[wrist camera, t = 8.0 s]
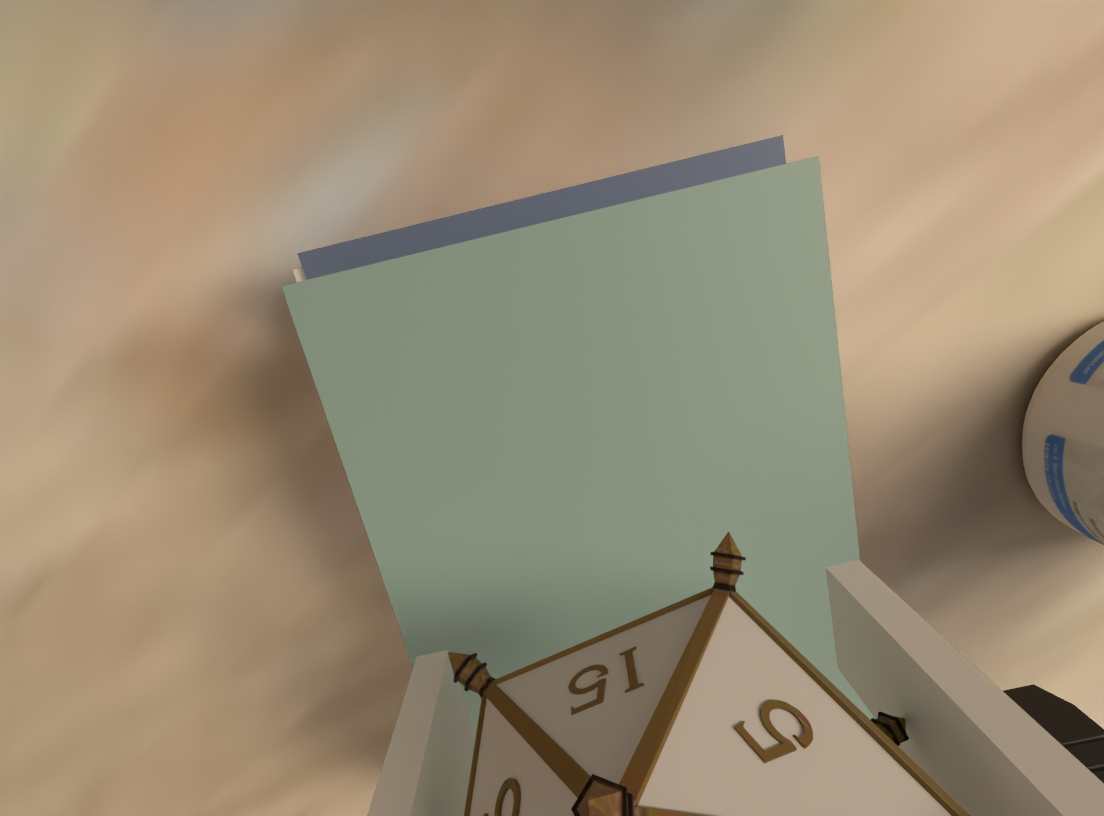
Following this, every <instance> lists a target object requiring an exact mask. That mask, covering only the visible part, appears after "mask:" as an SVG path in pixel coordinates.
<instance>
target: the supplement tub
mask: <svg viewBox="0 0 1104 816" xmlns="http://www.w3.org/2000/svg"><path fill="white" fill-rule="evenodd" d="M1022 455H1023V465H1024V469H1025V473H1026V476H1027V479H1028V482H1029V484H1030V486H1031V488H1032V490H1033V492H1034V494H1035V495H1036V497H1037V498H1038V500H1039V501H1040V503H1041V504H1042V505H1043V506H1044V507H1045V508H1046V509H1047V511H1048V512H1050V513H1051V514H1052V515H1053V516H1054V517H1055V518H1057V519H1058V520H1059V521H1060V522H1062V523H1063V524H1065V525H1066V526H1068V527H1069V528H1071V529H1073V530H1075V531H1077V532H1079V533H1081V534H1083V535H1085V536H1087V537H1089V538H1091V539H1093V540H1095V541H1097V542H1099V543H1101V544H1103V545H1104V321H1103V322H1101V323H1100V324H1098V325H1096V326H1094V327H1093V328H1091V329H1090V330H1088V331H1087V332H1086V333H1084V334H1083V335H1082V336H1080V337H1079V338H1078V339H1076V340H1075V341H1074V342H1073V343H1072V344H1071V345H1070V346H1069V347H1067V348H1066V349H1065V350H1064V351H1063V352H1062V353H1061V354H1060V355H1059V356H1058V358H1057V359H1056V360H1055V361H1054V362H1053V364H1052V365H1051V366H1050V367H1049V368H1048V370H1047V371H1046V373H1045V374H1044V376H1043V377H1042V379H1041V380H1040V382H1039V384H1038V386H1037V387H1036V389H1035V391H1034V393H1033V396H1032V398H1031V400H1030V403H1029V405H1028V408H1027V411H1026V415H1025V420H1024V424H1023V432H1022Z"/></svg>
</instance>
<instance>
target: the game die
mask: <svg viewBox="0 0 1104 816" xmlns="http://www.w3.org/2000/svg"><path fill="white" fill-rule="evenodd" d="M711 555H713V567H712V566H710V570H713V575H714V580H715V583H714V585H713V587H712V588H710V589H707V590H705V591H702V592H700V593H698V594H695V595H693V596H691V597H688V598H686V599H684V600H681V601H679V602H677V603H674V604H672V605H670V606H667V607H665V608H662V609H660V610H658V611H655V612H653V613H651V614H648V615H646V616H644V617H641V618H639V619H637V620H634V621H632V622H629V623H627V624H625V625H622V626H620V627H618V628H615V629H613V630H611V631H608V632H606V633H604V634H601V635H599V636H597V637H594V638H592V639H589V640H587V641H585V642H582V643H580V644H578V645H575V646H573V647H571V648H568V649H566V650H564V651H561V652H559V653H556V654H554V655H552V656H549V657H547V658H545V659H542V660H540V661H538V662H535V663H533V664H531V665H528V666H526V667H523V668H521V669H519V670H516V671H514V672H512V673H509V674H507V675H505V676H502V677H500V678H498V679H495V678H493V677H491V675H490V674H489V672H488V670H487V669H486V666H487V664H486V663H485V662H484V663H481V662H480V661H479V660H478V659H477V658H476V657H477V654H476V653H474V654H472V655H468V654H460V653H452V652H448V656H449V659H450V662H451V666H452V669H453V673H454V681H453V682H455V683H457V682H460V683H461V684H462V685H463V686H465V688H464V690H465V691H466V692H467V691H468V690H471V691H473V692H476V693H478V694H479V695H480V697H481V705H480V712H479V718H478V725H477V732H476V738H475V745H474V752H473V758H472V765H471V772H470V778H469V785H468V792H467V798H466V805H465V812H464V816H970V815H969V814H968V813H967V812H966V811H965V810H964V809H963V808H962V807H961V806H960V805H959V804H958V803H957V802H956V801H955V800H954V799H953V798H951V797H950V796H949V795H948V794H947V793H946V792H945V791H944V790H943V789H942V788H941V787H940V786H939V785H938V784H937V783H936V782H935V781H934V780H933V779H932V778H931V777H930V776H928V775H927V774H926V773H925V772H924V771H923V770H922V769H921V768H920V767H919V766H918V765H917V764H916V763H915V762H914V761H913V760H912V759H911V758H910V757H909V756H908V755H907V754H906V753H904V752H903V751H902V750H901V749H900V748H899V747H898V746H899V745H901V744H900V743H902V742H904V741H907V740H909V737H908V735H907V734H906V724H905V719H904V718H902V717H896V716H891V715H888V714H886V713H883V712H880V711H879V712H878V718H877V719H874V718H872V719H871V720H870V719H869V718H868V717H867V716H866V715H865V714H864V713H863V712H862V711H861V710H860V709H858V708H857V707H856V706H855V705H854V704H853V703H852V702H851V701H850V700H849V699H848V698H847V697H846V696H845V695H844V694H843V693H842V692H841V691H840V690H839V689H838V688H837V687H835V686H834V685H833V684H832V683H831V682H830V681H829V680H828V679H827V678H826V677H825V676H824V675H823V674H822V673H821V672H820V671H819V670H818V669H817V668H816V667H815V666H814V665H812V664H811V663H810V662H809V661H808V660H807V659H806V658H805V657H804V656H803V655H802V654H801V653H800V652H799V651H798V650H797V649H796V648H795V647H794V646H793V645H792V644H791V643H789V642H788V641H787V640H786V639H785V638H784V637H783V636H782V635H781V634H780V633H779V632H778V631H777V630H776V629H775V628H774V627H773V626H772V625H771V624H770V623H769V622H768V621H767V620H765V619H764V618H763V617H762V616H761V615H760V614H759V613H758V612H757V611H756V610H755V609H754V608H753V607H752V606H751V605H750V604H749V603H748V602H747V601H746V600H745V599H744V598H742V597H741V596H740V595H739V594H738V593H737V592H736V587H735V585H736V583H737V580H738V578H739V576H740V575H743V573H744V572H742V571H741V564H742V560H746V557H742V555H741V553H740V551H739V550H738V548H737V546H736V544H735V542H734V540H733V538H732V536H731V534H730V532H729V531H728V533H727V534H726V535H725V537H724V538H723V540H722V541H721V543H720V544H719V545H718V547H717V548H716V550H715V551H714V552H711Z"/></svg>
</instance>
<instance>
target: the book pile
mask: <svg viewBox="0 0 1104 816" xmlns="http://www.w3.org/2000/svg"><path fill="white" fill-rule="evenodd" d="M298 255H299V258H300V261H301V264H302V267H301V268H297V269H293V273H294V275H295V278H296V281H297V282H296V283H292V284H288V285H284V286H281V287H282V290H283V292H284V295H285V298H286V301H287V305H288V308H289V311H290V314H291V317H292V320H293V323H294V326H295V328H296V331H297V334H298V337H299V340H300V343H301V346H302V349H303V352H304V354H305V357H306V360H307V363H308V366H309V369H310V372H311V375H312V377H313V380H314V383H315V386H316V389H317V392H318V395H319V398H320V401H321V403H322V406H323V409H324V412H325V415H326V418H327V421H328V424H329V427H330V429H331V432H332V435H333V438H334V441H335V444H336V447H337V450H338V452H339V455H340V458H341V461H342V464H343V467H344V470H345V473H346V476H347V478H348V481H349V484H350V487H351V490H352V493H353V496H354V499H355V502H356V504H357V507H358V510H359V513H360V516H361V519H362V522H363V525H364V527H365V530H366V533H367V536H368V539H369V542H370V545H371V548H372V551H373V553H374V556H375V559H376V562H377V565H378V568H379V571H380V574H381V576H382V579H383V582H384V585H385V588H386V591H387V594H388V597H389V600H390V602H391V605H392V608H393V611H394V614H395V617H396V620H397V623H398V626H399V628H400V631H401V634H402V637H403V640H404V643H405V646H406V649H407V651H408V654H409V657H410V660H411V663H412V666H413V667H414V664H415V660H416V657H418V656H422V655H427V654H431V653H436V652H440V651H445V650H449V652H452V653H460V654H468V655H472V654H474V653H476V654H477V657H476V658H477V659H478V660H479V661H480V662H481V663H484V662H485V663H486V664H487V666H486V669H487V670H488V672H489V674H490V675H491V677H493V678H495V679H498V678H500V677H502V676H505V675H507V674H509V673H512V672H514V671H516V670H519V669H521V668H523V667H526V666H528V665H531V664H533V663H535V662H538V661H540V660H542V659H545V658H547V657H549V656H552V655H554V654H556V653H559V652H561V651H564V650H566V649H568V648H571V647H573V646H575V645H578V644H580V643H582V642H585V641H587V640H589V639H592V638H594V637H597V636H599V635H601V634H604V633H606V632H608V631H611V630H613V629H615V628H618V627H620V626H622V625H625V624H627V623H629V622H632V621H634V620H637V619H639V618H641V617H644V616H646V615H648V614H651V613H653V612H655V611H658V610H660V609H662V608H665V607H667V606H670V605H672V604H674V603H677V602H679V601H681V600H684V599H686V598H688V597H691V596H693V595H695V594H698V593H700V592H702V591H705V590H707V589H710V588H712V587H713V585H714V583H715V580H714V575H713V570H710V566H712V567H713V555H711V552H714V551H715V550H716V548H717V547H718V545H719V544H720V543H721V541H722V540H723V538H724V537H725V535H726V534H727V533H728V531H729V532H730V534H731V536H732V538H733V540H734V542H735V544H736V546H737V548H738V550H739V551H740V553H741V555H742V557H746V560H742V564H741V571H742V572H744V573H743V575H740V576H739V578H738V580H737V583H736V585H735V587H736V592H737V593H738V594H739V595H740V596H741V597H742V598H744V599H745V600H746V601H747V602H748V603H749V604H750V605H751V606H752V607H753V608H754V609H755V610H756V611H757V612H758V613H759V614H760V615H761V616H762V617H763V618H764V619H765V620H767V621H768V622H769V623H770V624H771V625H772V626H773V627H774V628H775V629H776V630H777V631H778V632H779V633H780V634H781V635H782V636H783V637H784V638H785V639H786V640H787V641H788V642H789V643H791V644H792V645H793V646H794V647H795V648H796V649H797V650H798V651H799V652H800V653H801V654H802V655H803V656H804V657H805V658H806V659H807V660H808V661H809V662H810V663H811V664H812V665H814V666H815V667H816V668H817V669H818V670H819V671H820V672H821V673H822V674H823V675H824V676H825V677H826V678H827V679H828V680H829V681H830V682H831V683H832V684H833V685H834V686H835V687H837V688H838V689H839V690H840V691H841V692H842V693H843V694H844V695H845V696H846V697H847V698H848V699H849V700H850V701H851V702H852V703H853V704H854V705H855V706H856V707H857V708H858V709H860V710H861V711H862V712H863V713H864V714H865V715H866V716H867V717H868V718H869V719H870V720H871V719H872V718H874V716H873V715H872V714H871V712H870V711H869V709H868V708H867V707H866V705H865V704H864V703H863V701H862V700H861V699H860V697H859V696H858V695H857V693H856V692H855V691H854V689H853V688H852V687H851V685H850V684H849V683H848V681H847V680H846V679H845V677H844V676H843V675H842V673H841V672H840V671H839V669H838V666H837V657H836V649H835V641H834V633H833V625H832V617H831V609H830V600H829V592H828V584H827V576H826V568H825V567H829V566H833V565H838V564H843V563H847V562H852V561H856V560H860V553H859V543H858V534H857V524H856V514H855V504H854V495H853V485H852V475H851V466H850V456H849V446H848V436H847V427H846V417H845V407H844V398H843V388H842V378H841V368H840V359H839V349H838V339H837V329H836V320H835V310H834V300H833V291H832V281H831V271H830V261H829V252H828V242H827V232H826V223H825V213H824V203H823V193H822V184H821V174H820V164H819V156H816V157H812V158H808V159H804V160H800V161H796V162H792V163H787V164H786V159H785V150H784V142H783V135H782V136H778V137H774V138H769V139H765V140H761V141H757V142H753V143H749V144H745V145H741V146H737V147H733V148H728V149H724V150H720V151H716V152H712V153H708V154H704V155H700V156H696V157H692V158H687V159H683V160H679V161H675V162H671V163H667V164H663V165H659V166H655V167H651V168H646V169H642V170H638V171H634V172H630V173H626V174H622V175H618V176H614V177H610V178H605V179H601V180H597V181H593V182H589V183H585V184H581V185H577V186H573V187H569V188H564V189H560V190H556V191H552V192H548V193H544V194H540V195H536V196H532V197H528V198H523V199H519V200H515V201H511V202H507V203H503V204H499V205H495V206H491V207H487V208H482V209H478V210H474V211H470V212H466V213H462V214H458V215H454V216H450V217H446V218H441V219H437V220H433V221H429V222H425V223H421V224H417V225H413V226H409V227H405V228H400V229H396V230H392V231H388V232H384V233H380V234H376V235H372V236H368V237H364V238H359V239H355V240H351V241H347V242H343V243H339V244H335V245H331V246H327V247H323V248H318V249H314V250H310V251H306V252H302V253H298ZM459 683H460V682H459ZM460 686H461V690H462V693H463V696H464V699H465V702H466V705H467V708H468V711H469V714H470V717H471V721H472V724H473V727H474V730H475V733H476V732H477V725H478V718H479V712H480V705H481V697H480V695H479V694H478V693H476V692H473V691H471V690H468V691H467V692H466V691H465V690H464V688H465V686H463V685H462V684H461V683H460ZM874 719H875V718H874Z"/></svg>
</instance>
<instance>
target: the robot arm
mask: <svg viewBox="0 0 1104 816" xmlns="http://www.w3.org/2000/svg"><path fill="white" fill-rule="evenodd" d="M825 568H826V576H827V584H828V592H829V600H830V609H831V617H832V625H833V633H834V641H835V649H836V657H837V666H838V669H839V671H840V672H841V673H842V675H843V676H844V677H845V679H846V680H847V681H848V683H849V684H850V685H851V687H852V688H853V689H854V691H855V692H856V693H857V695H858V696H859V697H860V699H861V700H862V701H863V703H864V704H865V705H866V707H867V708H868V709H869V711H870V712H871V714H872V715H873V716H874V718H875V719H877V718H878V712H879V711H880V712H883V713H886V714H888V715H891V716H896V717H902V718H904V719H905V724H906V734H907V735H908V737H909V740H907V741H904V742H902V743H900V744H901V745H899V746H898V747H899V748H900V749H901V750H902V751H903V752H904V753H906V754H907V755H908V756H909V757H910V758H911V759H912V760H913V761H914V762H915V763H916V764H917V765H918V766H919V767H920V768H921V769H922V770H923V771H924V772H925V773H926V774H927V775H928V776H930V777H931V778H932V779H933V780H934V781H935V782H936V783H937V784H938V785H939V786H940V787H941V788H942V789H943V790H944V791H945V792H946V793H947V794H948V795H949V796H950V797H951V798H953V799H954V800H955V801H956V802H957V803H958V804H959V805H960V806H961V807H962V808H963V809H964V810H965V811H966V812H967V813H968V814H969V815H970V816H1104V729H1103V728H1101V727H1100V726H1099V725H1098V724H1096V723H1095V722H1094V721H1093V720H1092V719H1090V718H1089V717H1088V716H1087V715H1085V714H1084V713H1083V712H1082V711H1081V710H1079V709H1078V708H1077V707H1076V706H1074V705H1073V704H1071V703H1069V702H1067V701H1065V700H1063V699H1061V698H1059V697H1057V696H1055V695H1053V694H1051V693H1049V692H1047V691H1045V690H1043V689H1041V688H1039V687H1037V686H1035V685H1029V686H1024V687H1019V688H1014V689H1010V690H1005V691H1002V690H1001V689H1000V688H999V687H998V686H997V685H995V684H994V683H993V682H992V681H991V680H990V679H989V678H988V677H987V676H986V675H984V674H983V673H982V672H981V671H980V670H979V669H978V668H977V667H976V666H975V665H974V664H972V663H971V662H970V661H969V660H968V659H967V658H966V657H965V656H964V655H963V654H961V653H960V652H959V651H958V650H957V649H956V648H955V647H954V646H953V645H952V644H951V643H949V642H948V641H947V640H946V639H945V638H944V637H943V636H942V635H941V634H940V633H938V632H937V631H936V630H935V629H934V628H933V627H932V626H931V625H930V624H929V623H928V622H926V621H925V620H924V619H923V618H922V617H921V616H920V615H919V614H918V613H917V612H915V611H914V610H913V609H912V608H911V607H910V606H909V605H908V604H907V603H906V602H905V601H903V600H902V599H901V598H900V597H899V596H898V595H897V594H896V593H895V592H894V591H892V590H891V589H890V588H889V587H888V586H887V585H886V584H885V583H884V582H883V581H882V580H880V579H879V578H878V577H877V576H876V575H875V574H874V573H873V572H872V571H871V570H869V569H868V568H867V567H866V566H865V565H864V564H863V563H862V562H861V561H860V560H856V561H852V562H847V563H843V564H838V565H833V566H829V567H825ZM448 652H449V650H445V651H440V652H436V653H431V654H427V655H422V656H418V657H416V660H415V664H414V667H413V670H412V673H411V676H410V680H409V683H408V686H407V689H406V693H405V696H404V699H403V702H402V706H401V709H400V712H399V715H398V718H397V722H396V725H395V728H394V731H393V735H392V738H391V741H390V744H389V748H388V751H387V754H386V757H385V760H384V764H383V767H382V770H381V773H380V777H379V780H378V783H377V786H376V790H375V793H374V796H373V799H372V802H371V806H370V809H369V812H368V815H367V816H464V812H465V805H466V798H467V792H468V785H469V778H470V772H471V765H472V758H473V752H474V745H475V738H476V733H475V730H474V727H473V724H472V721H471V717H470V714H469V711H468V708H467V705H466V702H465V699H464V696H463V693H462V690H461V686H460V683H459V682H457V683H455V682H453V681H454V673H453V669H452V666H451V662H450V659H449V656H448Z"/></svg>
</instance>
